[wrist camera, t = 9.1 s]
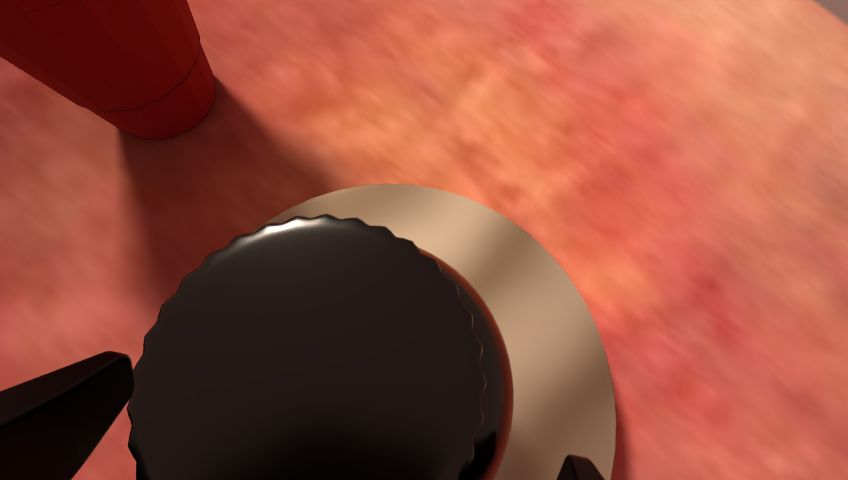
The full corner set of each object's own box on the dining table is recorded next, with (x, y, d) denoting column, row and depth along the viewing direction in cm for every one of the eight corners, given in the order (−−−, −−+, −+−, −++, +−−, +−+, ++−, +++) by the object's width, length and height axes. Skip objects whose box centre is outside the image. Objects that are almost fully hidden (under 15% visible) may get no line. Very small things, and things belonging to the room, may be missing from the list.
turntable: (674, 345, 19) (696, 340, 18) (432, 799, 14) (433, 845, 13) (359, 136, 23) (355, 117, 21) (78, 436, 18) (47, 439, 16)
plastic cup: (301, 104, 25) (201, -142, 14) (127, 218, 22) (-172, 32, 11) (203, -3, 28) (53, -281, 16) (39, 86, 25) (-270, -168, 14)
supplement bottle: (441, 284, 18) (473, 104, 7) (500, 454, 16) (681, 582, 5) (281, 334, 18) (34, 222, 6) (320, 520, 15) (45, 849, 4)
